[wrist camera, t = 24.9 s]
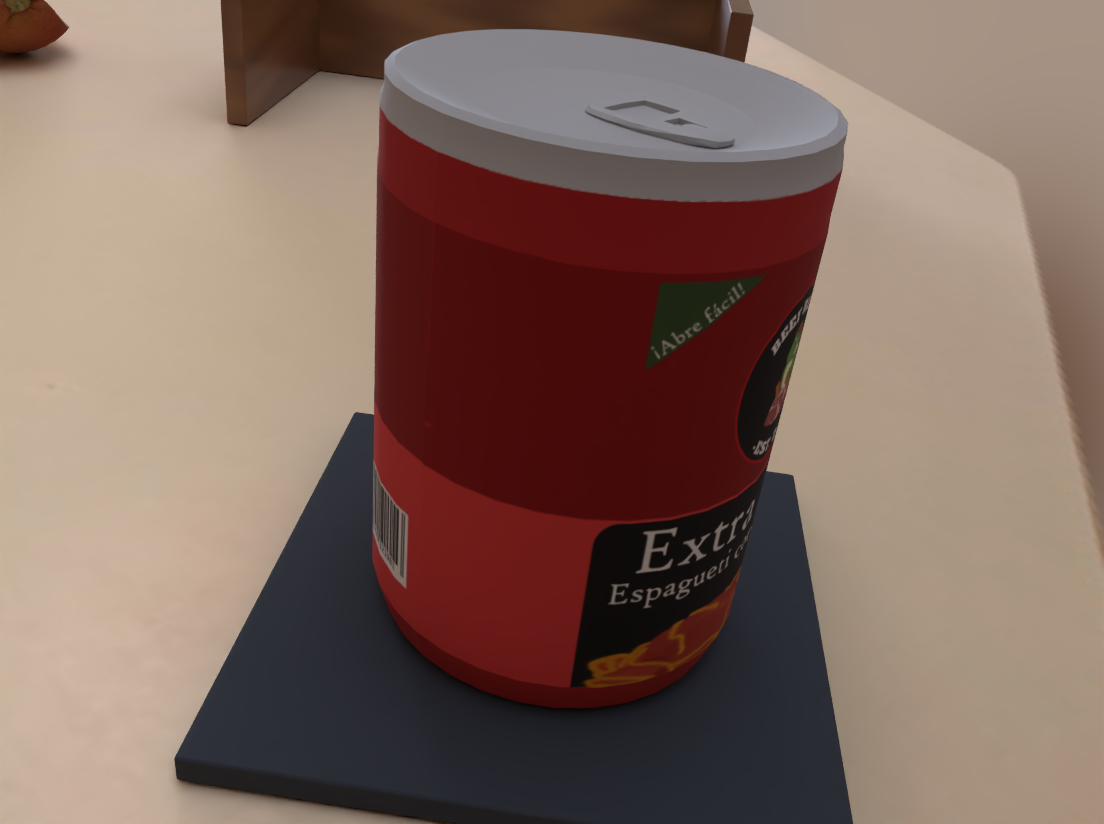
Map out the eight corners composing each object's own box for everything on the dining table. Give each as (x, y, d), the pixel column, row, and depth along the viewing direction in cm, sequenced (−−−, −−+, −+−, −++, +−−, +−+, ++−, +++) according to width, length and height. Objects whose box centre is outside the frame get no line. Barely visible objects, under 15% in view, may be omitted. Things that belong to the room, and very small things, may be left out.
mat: (788, 492, 28) (794, 474, 28) (853, 887, 18) (861, 866, 18) (354, 429, 29) (354, 410, 28) (175, 781, 18) (172, 757, 18)
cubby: (711, 118, 61) (738, -29, 57) (719, 190, 50) (753, 14, 46) (308, 64, 62) (305, -84, 58) (226, 123, 51) (216, -55, 47)
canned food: (638, 788, 19) (768, 199, 13) (290, 610, 22) (271, 66, 16) (775, 563, 25) (904, 91, 19) (487, 448, 28) (524, 10, 22)
